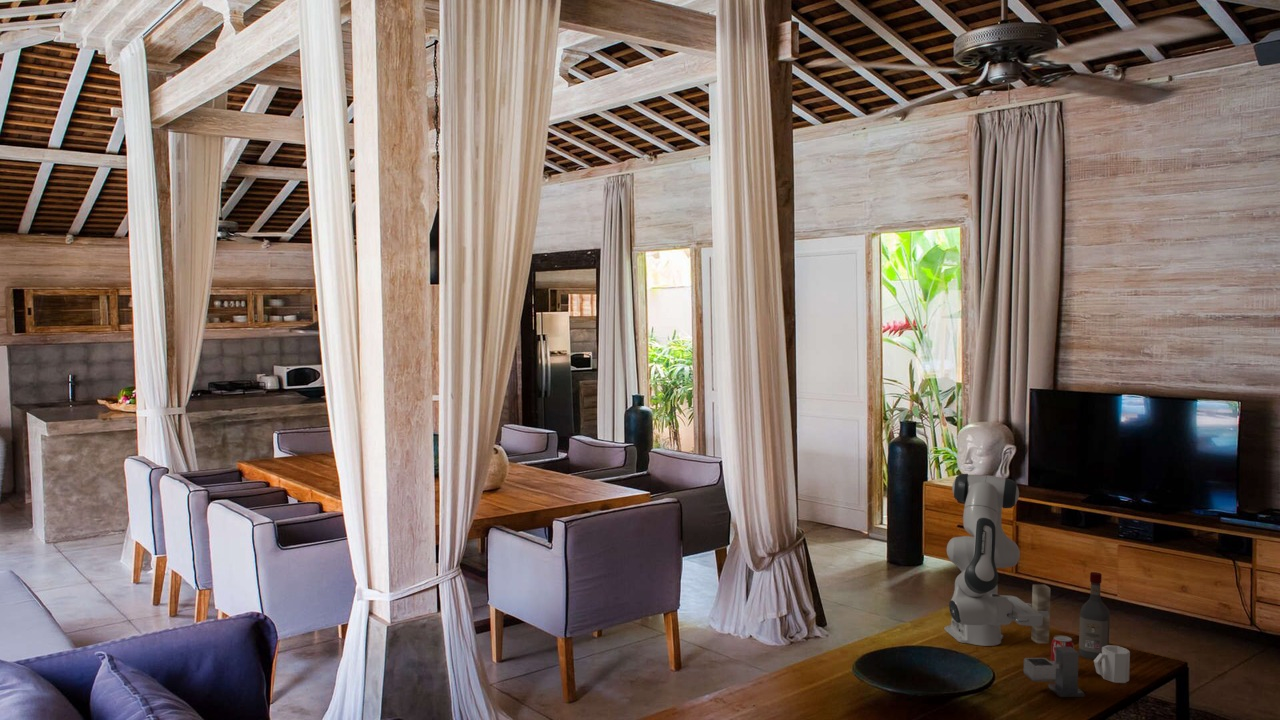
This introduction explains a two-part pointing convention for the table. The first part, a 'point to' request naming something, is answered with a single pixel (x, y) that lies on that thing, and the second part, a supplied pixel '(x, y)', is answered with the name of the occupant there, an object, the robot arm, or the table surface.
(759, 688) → the table surface
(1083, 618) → the liquor
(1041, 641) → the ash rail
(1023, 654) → the table surface
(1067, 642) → the soda can
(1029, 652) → the table surface
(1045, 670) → the cup bracket
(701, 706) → the table surface
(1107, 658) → the mug
